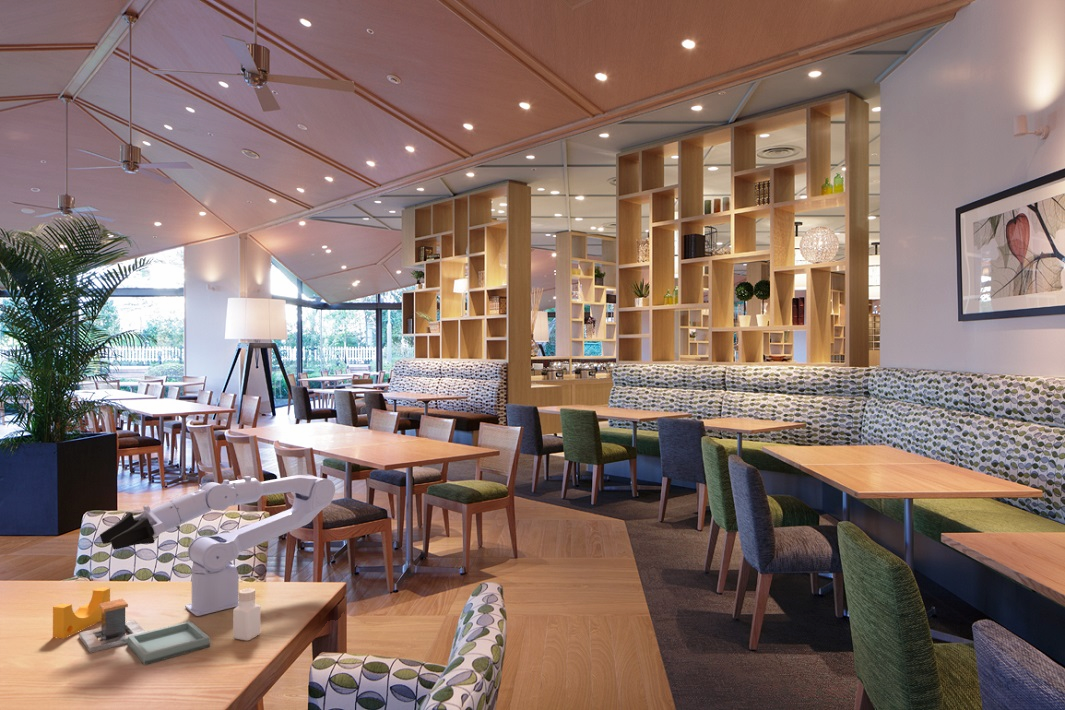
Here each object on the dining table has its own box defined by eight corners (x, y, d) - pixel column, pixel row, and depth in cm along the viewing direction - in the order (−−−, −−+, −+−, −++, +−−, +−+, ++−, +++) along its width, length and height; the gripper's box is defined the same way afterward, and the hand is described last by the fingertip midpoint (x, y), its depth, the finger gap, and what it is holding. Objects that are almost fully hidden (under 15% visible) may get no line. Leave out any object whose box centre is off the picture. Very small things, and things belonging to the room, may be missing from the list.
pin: (122, 632, 143) (122, 598, 143) (127, 638, 140) (127, 603, 140) (98, 637, 140) (99, 603, 140) (103, 644, 137) (104, 609, 137)
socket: (134, 624, 147) (134, 619, 147) (147, 638, 140) (147, 633, 140) (79, 637, 140) (79, 632, 140) (90, 652, 133) (90, 647, 133)
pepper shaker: (231, 639, 140) (231, 592, 140) (246, 631, 144) (246, 586, 144) (247, 642, 138) (247, 595, 138) (261, 634, 142) (261, 588, 142)
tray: (190, 629, 145) (190, 621, 145) (209, 646, 136) (209, 637, 136) (128, 645, 137) (128, 636, 137) (144, 664, 128) (144, 655, 128)
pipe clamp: (92, 616, 152) (93, 586, 152) (109, 617, 152) (110, 588, 152) (45, 637, 141) (45, 606, 141) (63, 639, 140) (63, 607, 140)
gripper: (157, 493, 156) (90, 519, 146) (180, 500, 146) (110, 529, 136) (167, 521, 157) (101, 549, 148) (190, 530, 147) (121, 561, 137)
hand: (106, 542), depth 142 cm, fingers open, 7 cm apart
